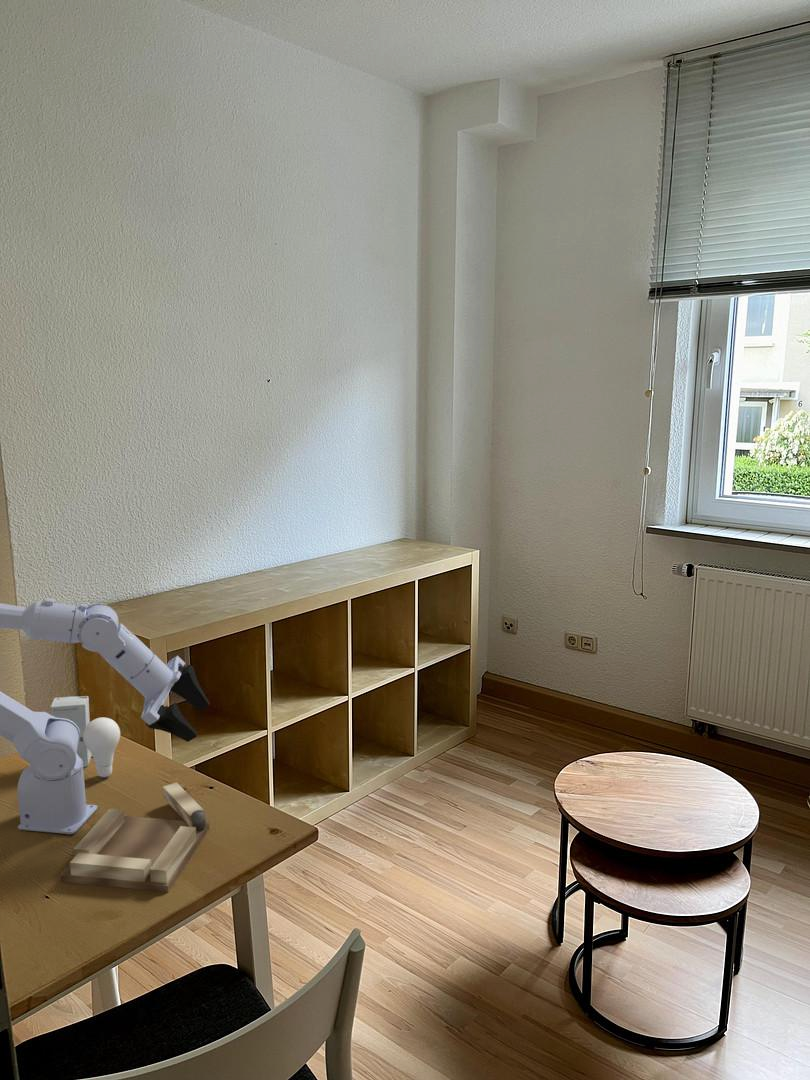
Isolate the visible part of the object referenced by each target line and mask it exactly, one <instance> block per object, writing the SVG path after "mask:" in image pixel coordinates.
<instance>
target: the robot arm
mask: <svg viewBox="0 0 810 1080" xmlns="http://www.w3.org/2000/svg"><path fill="white" fill-rule="evenodd" d="M0 629H9V630H10V629H11V630H12V629H13V630H14V629H15V630H21V631H22V632H24V633H25V634H26V635H27V637H28V638H29V639H32V640H41V641H51V642H59V643H66V644H67V643H68V644H76V643H81V644H82V645H81V647H82V648H84V649H85V650H87V651H89V652H93V653H98V654H99V655H100V656H101V657H102V658H103V659H104V660H105V661H106V662H107V663H108V664H109V665H110V666H111V667H112V668H113V669H115V670H116V671H117V672H118V673H119V674H120V675H121V677H123V678H124V679H125V680H126V681H127V682H128V683H129V684H130V685H132V687H134V689H136V690H137V691H138V692H139V693H140V694H141V695H142V696H143V697H144V703H143V709H142V714H141V716H140V719H142V720H143V721H144V722H145V725H146V727H148V728H149V729H151V730H152V729H153V730H158V731H162V732H165V733H169V734H170V735H173V736H175V737H177V738H179V739H181V740H183V741H185V742H187V743H189V742H190V741H192V740H194V739H195V738H197V736H198V732H197V731H196V729H195V728H194V727H193V726H192V724H190V723H189V722H188V720H187V719H186V718H185V717H184V715H183V714H182V712H181V711H180V708H179V706H178V704H177V702H174V703H172V704H170V705H164V704H165V702H166V700H167V699H168V696H169V693H170V692H172V693H174V694H176V695H177V696H180V697H181V698H182V699H184V700H185V701H186V702H187V703H189V704H190V705H191V706H192V707H194V708H195V709H197V710H198V711H200V712H202V711H203V710H204V709H206V708H208V707H209V706H210V704H211V702H210V701H209V699H208V698H207V696H206V694H205V693H204V691H203V689H202V687H201V685H200V684H199V681H198V678H197V676H196V672H195V668H194V667H193V666H192V665H191V664H187V666H185V665H186V662H185V661H184V660H183V659H182V658H181V657H180V656H179V655H176V656H175V657H173V658H171V659H170V660H169V661H168V663H167V664H166V663H164V662H163V661H162V659H160V658H159V657H158V656H157V655H156V654H155V653H154V652H153V651H152V650H151V649H150V648H149V647H148V646H147V645H145V644H144V642H142V640H141V639H140V638H138V637H137V635H135V634H134V633H132V632H131V631H130V630H129V629H128V628H127V627H126V626H125V625H124V624H123V623H122V622H121V623H120V622H119V617H118V613H117V612H116V611H115V609H114V608H112V606H109V605H107V604H102V603H100V602H94V603H91V604H90V605H88V604H87V603H80V605H73V604H68V603H67V604H65V603H57V602H55V599H54V598H50V597H48V598H47V597H46V598H44V601H41V600H36V601H34V602H33V603H31V604H30V605H28V606H19V605H13V604H9V603H7V604H6V603H2V602H1V603H0ZM0 736H1V737H3V738H5V740H8V741H9V742H11V743H12V745H13V746H14V748H15V750H16V751H17V753H18V755H19V757H20V758H21V759H22V760H24V761H26V763H29V765H28V766H27V767H25V768H24V769H23V771H22V772H21V774H20V776H19V778H18V783H17V789H16V790H17V792H16V793H17V802H18V809H19V811H18V812H19V819H20V820H19V821H20V823H19V825H18V826H17V829H18V830H21V831H31V832H32V831H33V832H43V833H54V834H66V835H74V834H76V832H77V831H79V829H80V828H81V827H83V825H84V824H85V823H86V822H87V820H89V819H90V817H91V816H92V815H93V814H94V813H95V812H96V811H98V809H99V807H98V805H97V804H87V797H86V787H85V786H86V784H85V773H84V767H83V761H82V759H81V758H80V757H79V756H78V754H77V753H76V752H77V747H78V743H79V741H80V730H79V728H78V726H77V725H76V724H75V723H74V722H73V721H71V720H69V719H65V718H58V717H54V716H52V715H51V713H48V712H46V711H33V710H31V709H30V708H28V707H27V706H25V705H23V704H22V703H20V702H19V701H17V700H15V699H13V698H12V697H10V696H8V694H5V693H4V692H3V691H0Z"/></svg>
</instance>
